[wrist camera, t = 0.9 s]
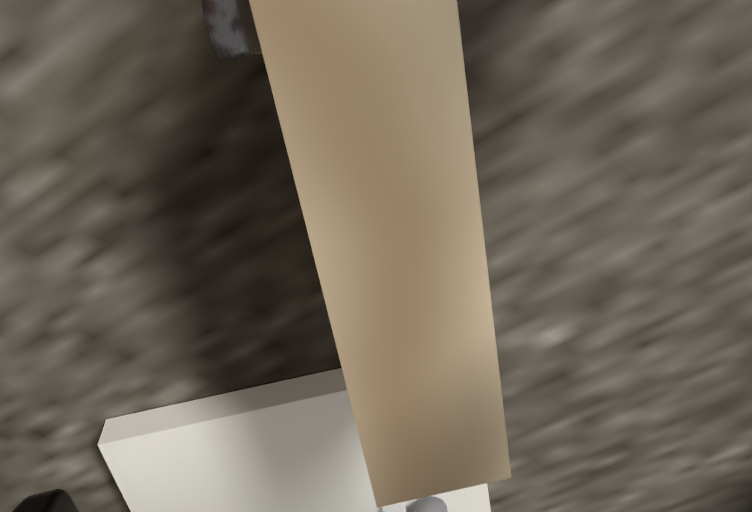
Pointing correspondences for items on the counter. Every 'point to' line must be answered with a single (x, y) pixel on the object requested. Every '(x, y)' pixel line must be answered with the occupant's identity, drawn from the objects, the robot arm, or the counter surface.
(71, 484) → the counter surface
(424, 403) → the door panel
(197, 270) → the counter surface
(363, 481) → the hinge base
